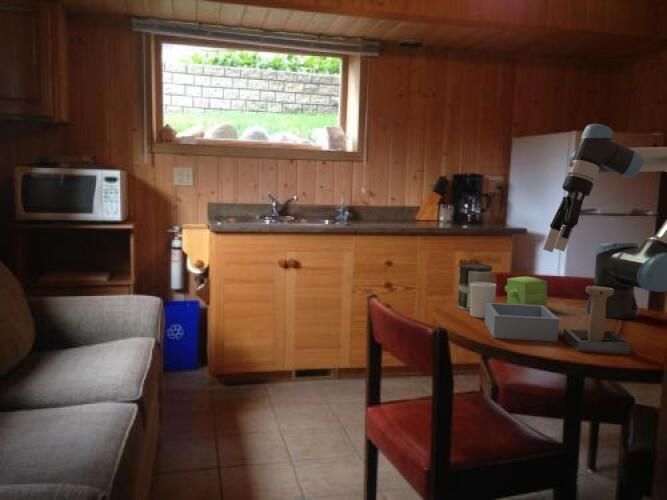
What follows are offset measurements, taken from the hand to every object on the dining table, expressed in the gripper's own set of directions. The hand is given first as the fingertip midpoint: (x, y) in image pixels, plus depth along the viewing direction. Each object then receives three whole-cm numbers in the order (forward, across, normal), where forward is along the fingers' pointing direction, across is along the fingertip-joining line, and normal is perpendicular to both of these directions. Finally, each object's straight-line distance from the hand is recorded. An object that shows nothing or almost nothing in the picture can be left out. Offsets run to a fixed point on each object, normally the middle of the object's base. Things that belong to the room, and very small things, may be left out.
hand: (553, 250), depth 159 cm
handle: (+21, +12, +16) cm, 29 cm away
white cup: (+25, -14, -10) cm, 31 cm away
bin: (+25, +2, -1) cm, 25 cm away
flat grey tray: (+21, +12, +16) cm, 28 cm away
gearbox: (+18, -32, +4) cm, 37 cm away
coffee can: (+24, -25, -12) cm, 37 cm away
